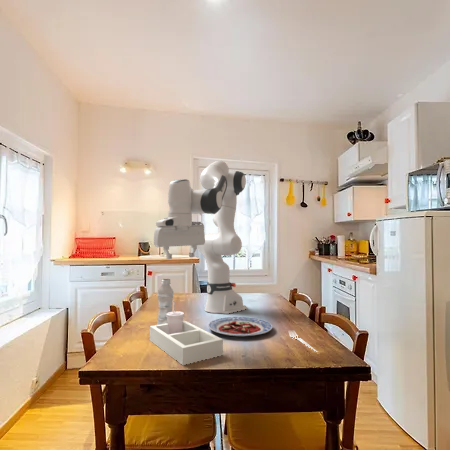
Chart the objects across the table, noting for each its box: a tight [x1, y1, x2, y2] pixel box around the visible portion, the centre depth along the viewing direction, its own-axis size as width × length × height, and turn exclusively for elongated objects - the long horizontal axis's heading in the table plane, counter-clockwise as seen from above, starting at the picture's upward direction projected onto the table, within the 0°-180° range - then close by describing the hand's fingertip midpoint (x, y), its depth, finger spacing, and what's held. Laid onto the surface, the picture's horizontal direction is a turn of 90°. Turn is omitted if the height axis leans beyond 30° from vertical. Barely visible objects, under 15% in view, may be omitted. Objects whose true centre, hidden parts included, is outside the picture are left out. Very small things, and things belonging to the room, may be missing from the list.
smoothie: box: [166, 300, 185, 334], centre depth 111 cm, size 6×6×14 cm
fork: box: [288, 330, 319, 353], centre depth 110 cm, size 3×20×2 cm, turn 14°
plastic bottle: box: [156, 278, 174, 325], centre depth 126 cm, size 6×7×20 cm
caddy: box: [149, 320, 224, 366], centre depth 105 cm, size 26×14×5 cm, turn 34°
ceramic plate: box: [208, 316, 273, 338], centre depth 126 cm, size 26×26×3 cm
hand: (180, 258), depth 118 cm, fingers open, 8 cm apart
